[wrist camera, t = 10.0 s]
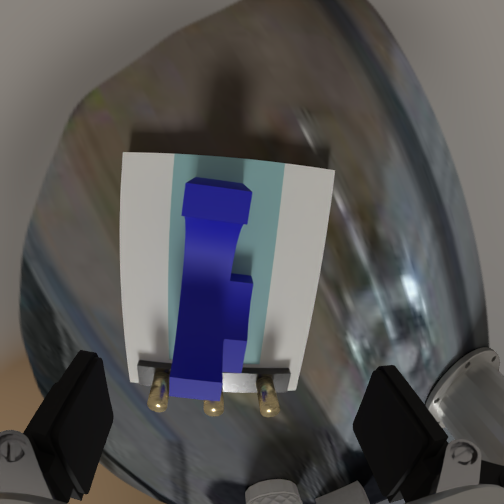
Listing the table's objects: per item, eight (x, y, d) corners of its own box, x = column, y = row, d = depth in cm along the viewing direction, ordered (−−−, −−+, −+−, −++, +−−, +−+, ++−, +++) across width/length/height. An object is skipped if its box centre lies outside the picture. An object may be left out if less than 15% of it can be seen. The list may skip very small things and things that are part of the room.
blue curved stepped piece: (238, 349, 23) (245, 402, 17) (178, 342, 22) (169, 395, 17) (266, 186, 20) (285, 197, 14) (195, 176, 19) (185, 182, 13)
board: (327, 169, 22) (335, 170, 20) (292, 379, 26) (296, 391, 25) (129, 152, 20) (122, 152, 18) (133, 371, 25) (129, 383, 23)
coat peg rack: (288, 367, 24) (299, 400, 20) (285, 386, 25) (294, 418, 21) (138, 359, 23) (128, 391, 19) (141, 378, 23) (131, 411, 19)
